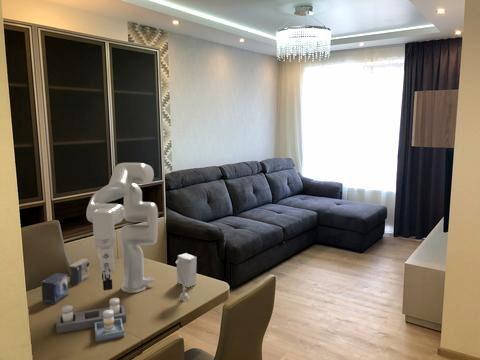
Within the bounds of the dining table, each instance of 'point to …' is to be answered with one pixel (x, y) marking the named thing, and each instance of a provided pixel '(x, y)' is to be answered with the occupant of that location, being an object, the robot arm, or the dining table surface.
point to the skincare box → (192, 276)
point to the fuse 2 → (115, 305)
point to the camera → (79, 271)
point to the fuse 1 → (67, 313)
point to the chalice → (183, 274)
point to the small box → (54, 288)
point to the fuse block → (86, 319)
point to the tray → (112, 335)
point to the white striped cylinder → (108, 321)
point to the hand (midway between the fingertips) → (107, 284)
